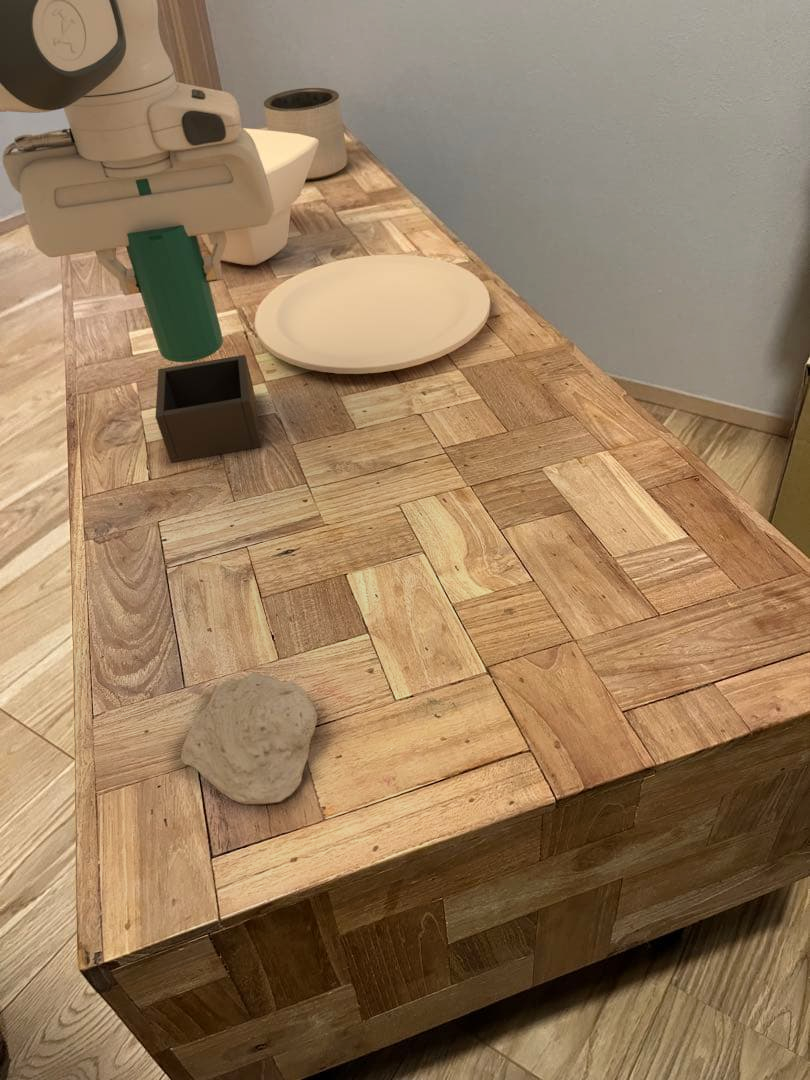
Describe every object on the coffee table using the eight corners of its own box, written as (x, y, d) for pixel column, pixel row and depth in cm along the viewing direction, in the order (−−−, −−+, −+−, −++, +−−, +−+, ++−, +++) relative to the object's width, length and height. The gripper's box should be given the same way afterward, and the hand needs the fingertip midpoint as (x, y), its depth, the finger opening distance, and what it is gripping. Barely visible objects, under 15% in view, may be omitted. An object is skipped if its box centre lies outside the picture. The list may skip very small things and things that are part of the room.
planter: (363, 165, 141) (355, 93, 133) (308, 188, 134) (297, 114, 127) (314, 152, 147) (304, 83, 140) (260, 174, 141) (246, 103, 134)
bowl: (266, 296, 107) (244, 186, 97) (156, 273, 115) (125, 169, 105) (344, 239, 118) (331, 136, 109) (239, 222, 126) (217, 124, 117)
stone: (167, 679, 58) (297, 633, 57) (198, 715, 61) (322, 672, 60) (157, 802, 51) (306, 752, 50) (193, 836, 54) (335, 789, 53)
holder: (170, 462, 82) (155, 416, 78) (172, 413, 88) (158, 368, 84) (261, 447, 82) (249, 400, 79) (255, 399, 89) (245, 354, 85)
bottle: (159, 366, 76) (102, 190, 65) (161, 336, 81) (108, 166, 70) (223, 356, 77) (178, 179, 66) (222, 326, 81) (179, 156, 70)
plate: (214, 367, 95) (209, 349, 93) (320, 262, 113) (317, 246, 112) (444, 402, 86) (443, 383, 84) (518, 282, 104) (518, 265, 103)
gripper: (-14, 152, 62) (53, 319, 71) (256, 113, 64) (288, 282, 73) (0, 127, 66) (62, 288, 76) (252, 92, 68) (282, 253, 78)
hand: (174, 285), depth 74 cm, fingers closed on bottle, 6 cm apart
